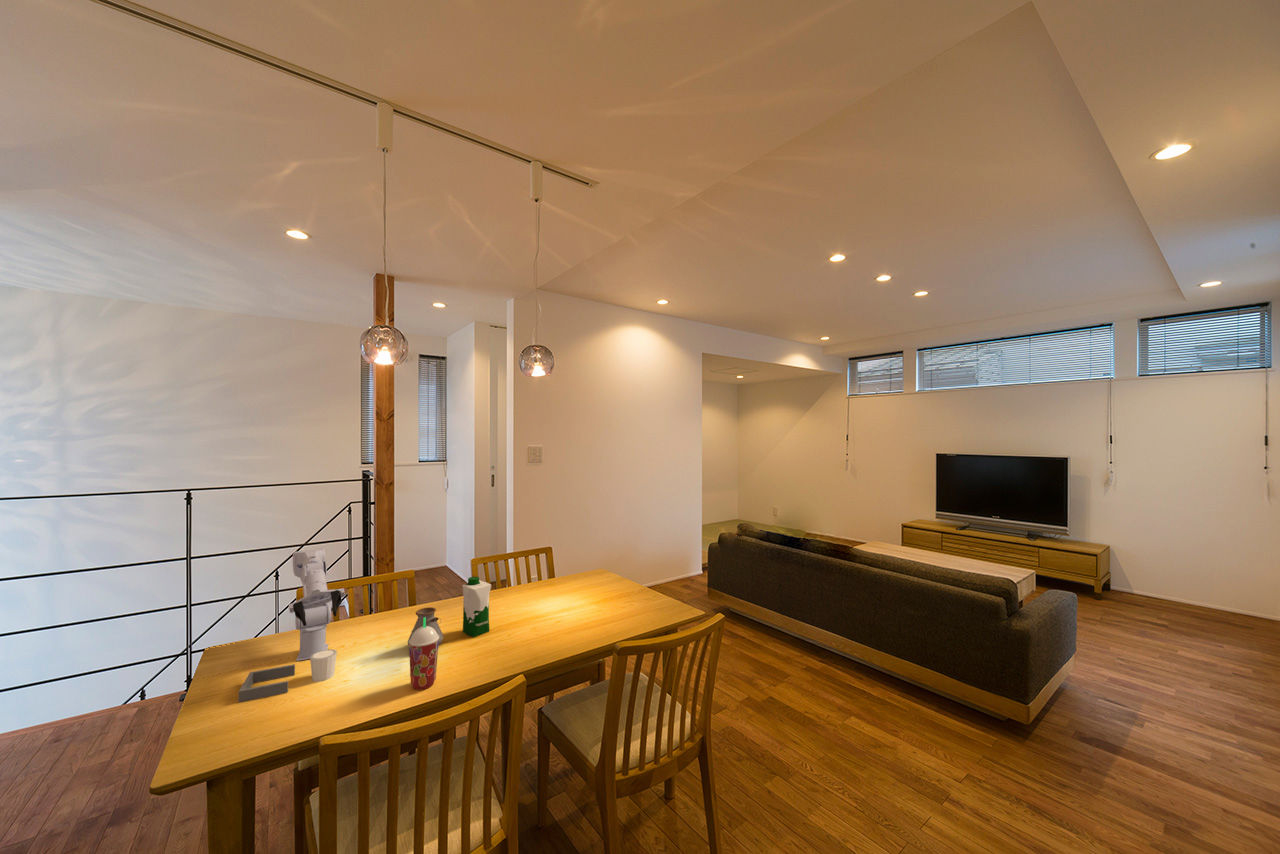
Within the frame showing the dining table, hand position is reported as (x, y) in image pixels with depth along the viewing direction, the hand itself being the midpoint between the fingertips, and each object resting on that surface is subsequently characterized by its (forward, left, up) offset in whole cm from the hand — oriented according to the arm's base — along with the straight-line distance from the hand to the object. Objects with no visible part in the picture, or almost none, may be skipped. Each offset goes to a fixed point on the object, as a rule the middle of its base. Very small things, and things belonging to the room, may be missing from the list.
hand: (319, 618), depth 143 cm
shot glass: (-2, +1, -19) cm, 19 cm away
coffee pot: (-5, +31, -19) cm, 37 cm away
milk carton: (-15, +48, -19) cm, 54 cm away
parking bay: (-2, -12, -19) cm, 22 cm away
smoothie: (+17, +28, -19) cm, 38 cm away
